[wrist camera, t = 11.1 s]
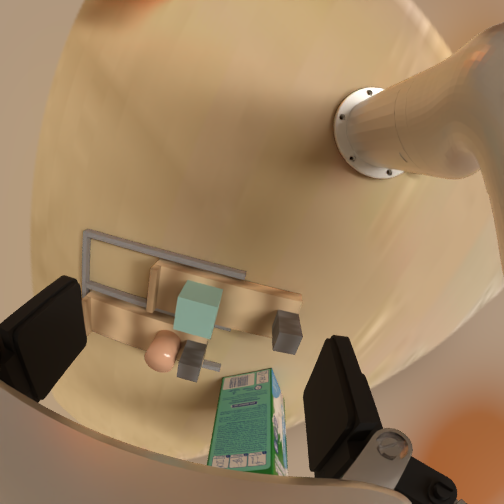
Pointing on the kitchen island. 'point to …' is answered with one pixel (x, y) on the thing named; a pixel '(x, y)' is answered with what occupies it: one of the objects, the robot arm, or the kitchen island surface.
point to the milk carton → (250, 425)
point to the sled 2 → (233, 303)
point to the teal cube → (197, 309)
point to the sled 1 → (141, 329)
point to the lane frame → (154, 252)
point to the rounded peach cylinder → (163, 351)
